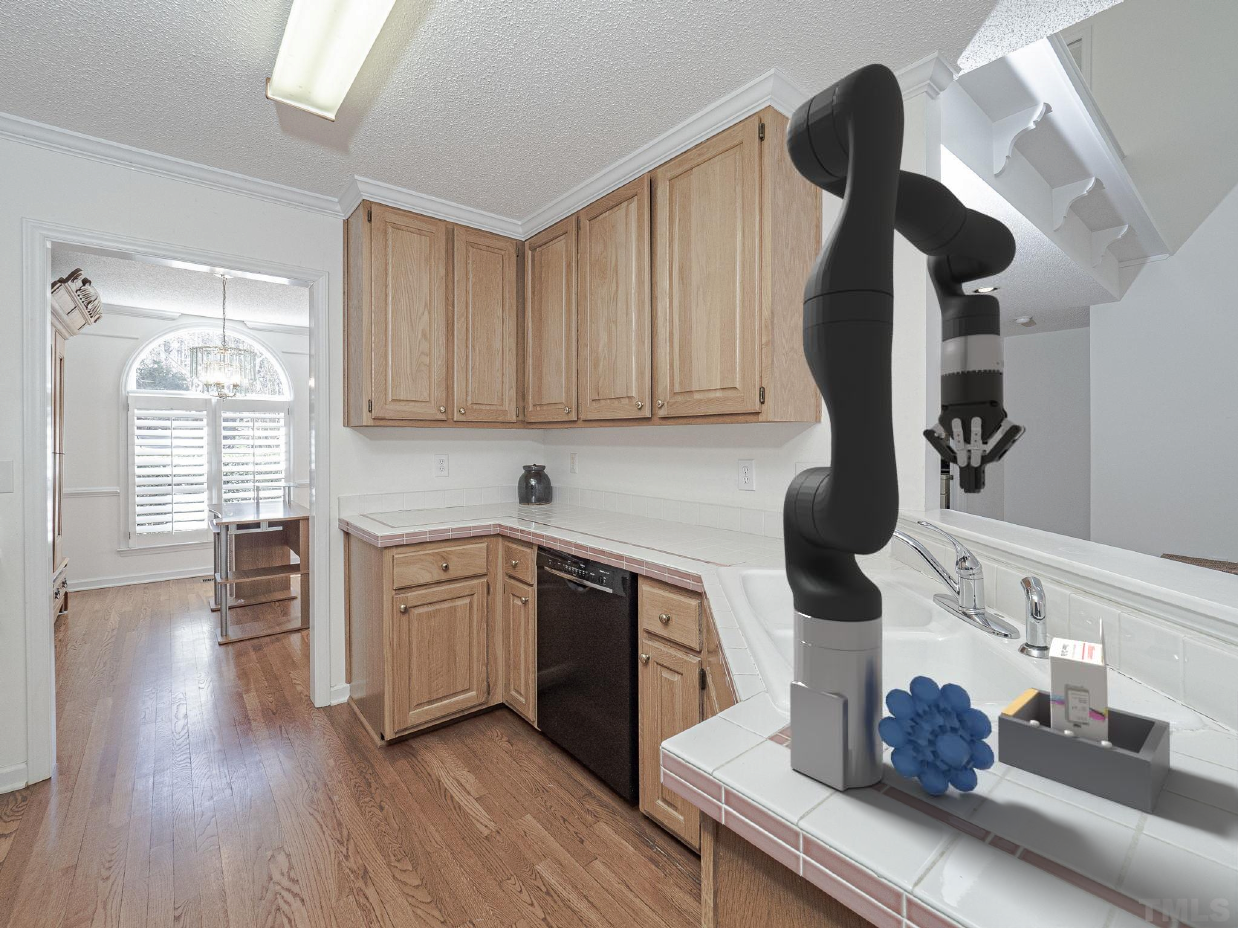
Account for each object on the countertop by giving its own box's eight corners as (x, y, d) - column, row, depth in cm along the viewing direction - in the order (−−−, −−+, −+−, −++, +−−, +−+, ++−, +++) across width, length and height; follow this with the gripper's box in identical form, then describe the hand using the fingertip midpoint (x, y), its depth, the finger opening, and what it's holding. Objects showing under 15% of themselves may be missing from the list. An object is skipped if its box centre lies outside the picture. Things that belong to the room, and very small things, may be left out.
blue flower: (900, 821, 53) (900, 693, 53) (868, 780, 60) (867, 667, 60) (1023, 820, 53) (1023, 692, 53) (977, 779, 60) (977, 666, 60)
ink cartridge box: (1052, 732, 68) (1051, 610, 68) (1106, 745, 65) (1106, 617, 65) (1048, 762, 61) (1047, 627, 61) (1108, 778, 58) (1108, 635, 58)
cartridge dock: (1150, 813, 54) (1150, 757, 54) (998, 760, 64) (998, 712, 64) (1169, 767, 62) (1169, 718, 62) (1032, 726, 72) (1031, 684, 72)
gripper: (911, 375, 83) (912, 492, 83) (1016, 362, 73) (1018, 496, 73) (933, 379, 88) (934, 490, 88) (1035, 367, 78) (1036, 493, 78)
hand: (972, 492), depth 81 cm, fingers closed
